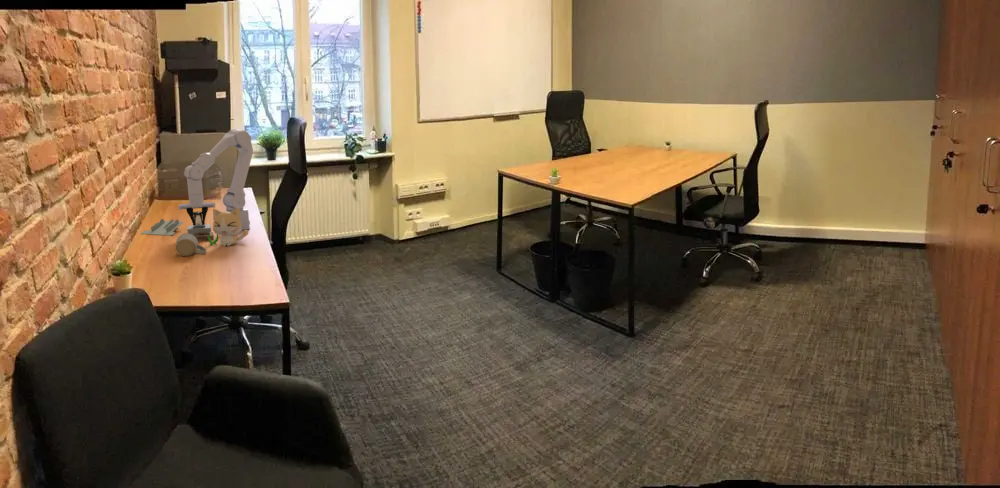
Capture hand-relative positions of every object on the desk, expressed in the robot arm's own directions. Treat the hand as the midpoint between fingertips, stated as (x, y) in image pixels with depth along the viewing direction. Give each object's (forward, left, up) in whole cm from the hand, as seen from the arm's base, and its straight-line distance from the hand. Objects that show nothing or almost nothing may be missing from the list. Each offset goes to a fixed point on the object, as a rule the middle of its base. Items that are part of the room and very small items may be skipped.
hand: (198, 224), depth 301 cm
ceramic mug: (+2, +33, -5) cm, 33 cm away
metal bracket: (+14, -11, -5) cm, 19 cm away
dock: (0, 0, -4) cm, 4 cm away
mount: (-2, +9, -4) cm, 10 cm away
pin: (0, 0, -3) cm, 3 cm away
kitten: (-11, +22, -5) cm, 25 cm away
